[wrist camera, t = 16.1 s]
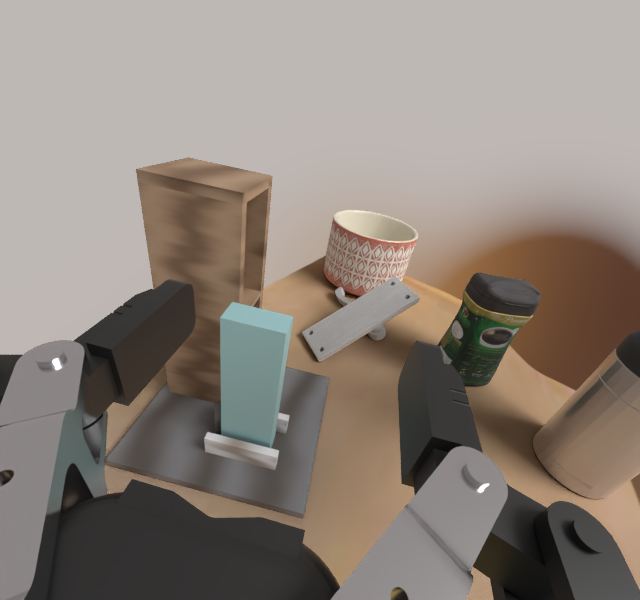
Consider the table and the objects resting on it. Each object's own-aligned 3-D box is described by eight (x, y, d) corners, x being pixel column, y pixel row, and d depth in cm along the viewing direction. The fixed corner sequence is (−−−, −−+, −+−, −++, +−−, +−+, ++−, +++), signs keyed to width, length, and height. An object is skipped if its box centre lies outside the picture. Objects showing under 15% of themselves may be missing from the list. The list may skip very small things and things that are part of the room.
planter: (350, 257, 87) (363, 206, 79) (410, 286, 78) (431, 232, 70) (306, 275, 73) (316, 215, 65) (372, 313, 64) (393, 249, 56)
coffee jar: (473, 357, 57) (525, 272, 48) (493, 391, 51) (559, 299, 41) (424, 351, 57) (467, 262, 47) (438, 384, 50) (492, 288, 40)
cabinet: (328, 382, 46) (378, 196, 31) (302, 518, 31) (378, 278, 16) (197, 349, 47) (184, 154, 32) (107, 465, 32) (1, 191, 17)
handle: (330, 382, 54) (421, 324, 57) (317, 359, 49) (419, 296, 51) (294, 321, 67) (370, 276, 69) (280, 297, 61) (363, 249, 63)
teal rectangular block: (277, 429, 37) (296, 310, 28) (268, 455, 34) (286, 333, 25) (233, 417, 37) (236, 296, 28) (221, 443, 35) (220, 317, 25)
